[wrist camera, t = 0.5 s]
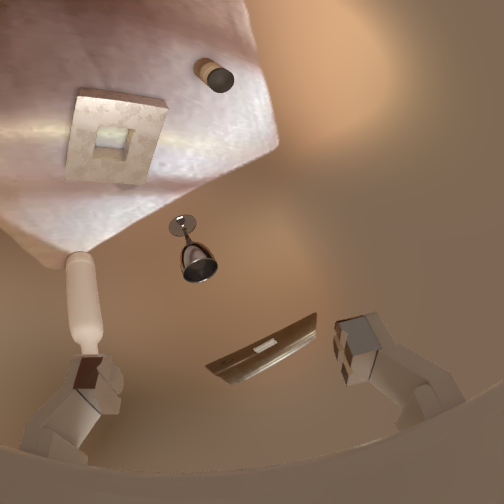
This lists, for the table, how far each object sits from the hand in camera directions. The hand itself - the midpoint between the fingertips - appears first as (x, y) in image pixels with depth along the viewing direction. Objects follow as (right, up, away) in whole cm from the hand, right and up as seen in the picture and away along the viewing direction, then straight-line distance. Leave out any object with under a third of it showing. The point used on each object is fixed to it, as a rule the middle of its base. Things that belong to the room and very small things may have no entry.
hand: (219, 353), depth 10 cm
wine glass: (-16, +10, +64) cm, 67 cm away
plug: (-8, +37, +37) cm, 53 cm away
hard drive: (+8, -48, +153) cm, 161 cm away
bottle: (-42, +1, +57) cm, 71 cm away
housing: (-25, +26, +38) cm, 52 cm away
